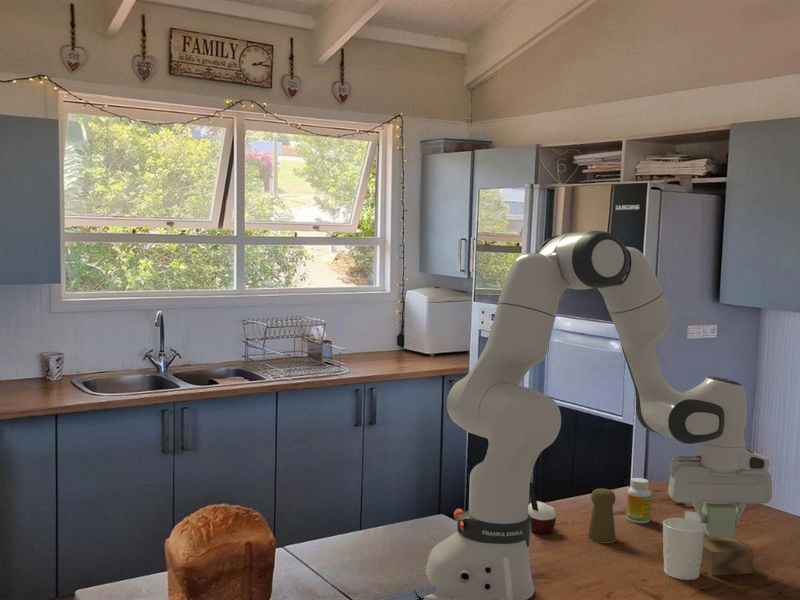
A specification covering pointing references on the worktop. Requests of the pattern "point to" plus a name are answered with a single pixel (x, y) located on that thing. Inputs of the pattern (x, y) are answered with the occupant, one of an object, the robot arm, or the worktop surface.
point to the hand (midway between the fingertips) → (718, 523)
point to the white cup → (682, 547)
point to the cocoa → (540, 514)
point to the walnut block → (726, 556)
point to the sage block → (719, 519)
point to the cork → (602, 516)
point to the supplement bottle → (639, 501)
